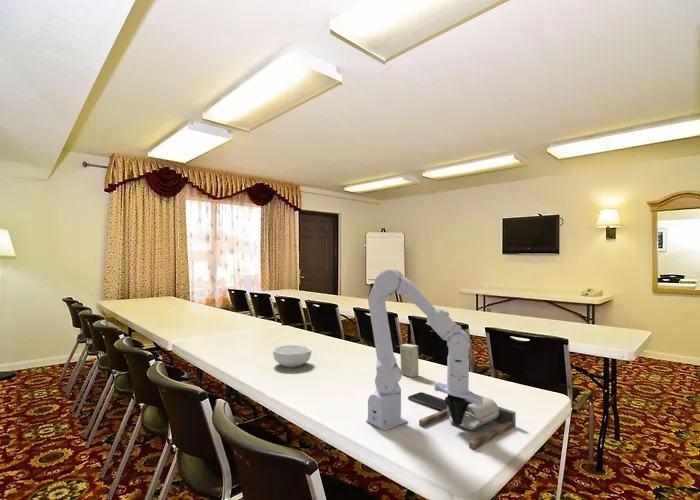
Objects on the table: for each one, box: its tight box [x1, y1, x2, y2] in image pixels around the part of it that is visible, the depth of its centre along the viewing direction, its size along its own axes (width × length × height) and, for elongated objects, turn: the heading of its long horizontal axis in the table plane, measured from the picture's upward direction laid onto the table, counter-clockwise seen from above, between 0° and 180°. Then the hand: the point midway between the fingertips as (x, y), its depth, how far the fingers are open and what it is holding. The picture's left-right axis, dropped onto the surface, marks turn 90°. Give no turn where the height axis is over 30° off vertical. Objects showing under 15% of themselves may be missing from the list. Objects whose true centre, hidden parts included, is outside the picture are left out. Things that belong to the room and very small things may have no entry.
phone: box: [407, 391, 447, 412], centre depth 120 cm, size 8×1×15 cm
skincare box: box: [399, 343, 420, 378], centre depth 150 cm, size 6×4×12 cm
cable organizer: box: [447, 394, 499, 430], centre depth 105 cm, size 7×12×12 cm
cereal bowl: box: [272, 344, 312, 368], centre depth 164 cm, size 17×17×7 cm
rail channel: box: [418, 406, 517, 451], centre depth 103 cm, size 21×17×4 cm
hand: (457, 424), depth 100 cm, fingers closed, pressing on cable organizer
